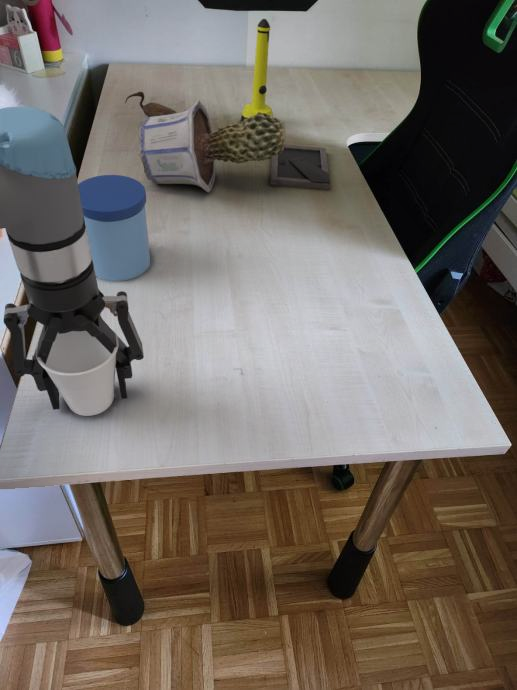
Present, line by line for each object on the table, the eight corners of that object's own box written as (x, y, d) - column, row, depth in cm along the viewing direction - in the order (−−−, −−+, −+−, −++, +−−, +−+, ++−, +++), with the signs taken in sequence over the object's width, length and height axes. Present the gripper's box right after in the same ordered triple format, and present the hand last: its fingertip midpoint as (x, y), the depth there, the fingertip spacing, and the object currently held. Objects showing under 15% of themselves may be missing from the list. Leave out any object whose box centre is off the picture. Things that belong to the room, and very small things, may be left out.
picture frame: (328, 190, 117) (324, 154, 130) (330, 182, 116) (326, 146, 128) (270, 185, 117) (272, 149, 130) (271, 177, 116) (272, 141, 128)
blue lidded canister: (87, 285, 89) (72, 214, 79) (85, 246, 96) (71, 176, 86) (155, 278, 91) (149, 208, 81) (148, 241, 99) (141, 172, 89)
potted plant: (122, 130, 99) (278, 106, 94) (144, 99, 112) (281, 76, 107) (150, 212, 110) (290, 195, 105) (167, 176, 123) (291, 158, 119)
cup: (94, 441, 67) (79, 387, 59) (38, 408, 70) (17, 353, 62) (142, 391, 74) (135, 337, 66) (89, 363, 77) (76, 307, 69)
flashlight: (238, 14, 122) (256, 25, 117) (271, 12, 125) (290, 23, 120) (234, 120, 140) (249, 134, 135) (263, 116, 143) (279, 129, 138)
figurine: (127, 130, 131) (123, 94, 125) (128, 122, 134) (124, 87, 128) (182, 132, 133) (181, 97, 127) (182, 124, 136) (181, 90, 130)
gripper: (152, 235, 60) (163, 365, 76) (-47, 252, 55) (10, 387, 71) (160, 275, 55) (170, 405, 71) (-58, 297, 50) (6, 431, 66)
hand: (90, 396), depth 71 cm, fingers closed on cup, 8 cm apart
